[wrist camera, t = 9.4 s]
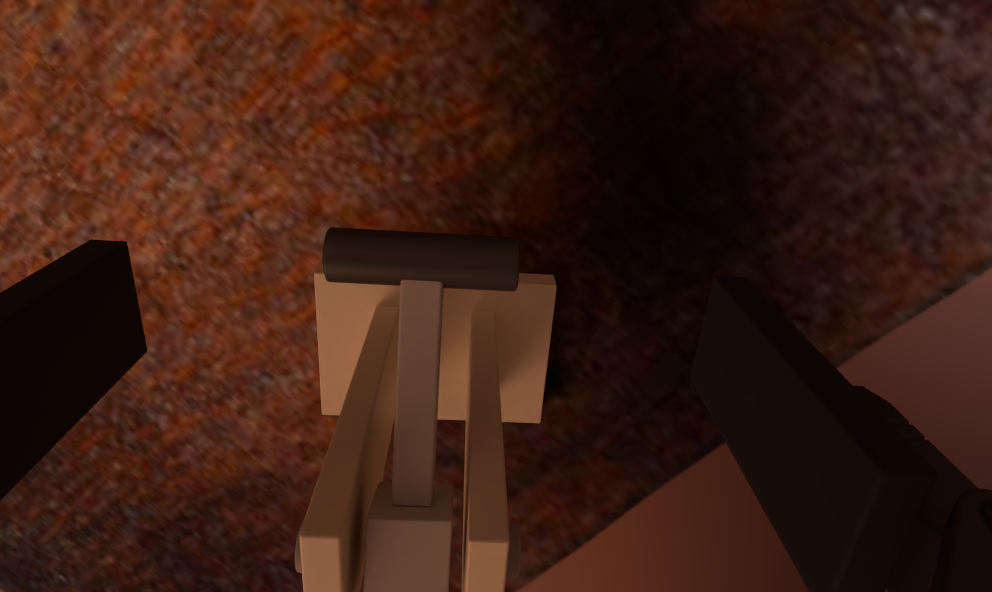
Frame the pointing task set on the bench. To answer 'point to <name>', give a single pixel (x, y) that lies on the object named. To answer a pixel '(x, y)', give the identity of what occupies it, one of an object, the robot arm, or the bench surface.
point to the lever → (416, 387)
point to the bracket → (462, 396)
